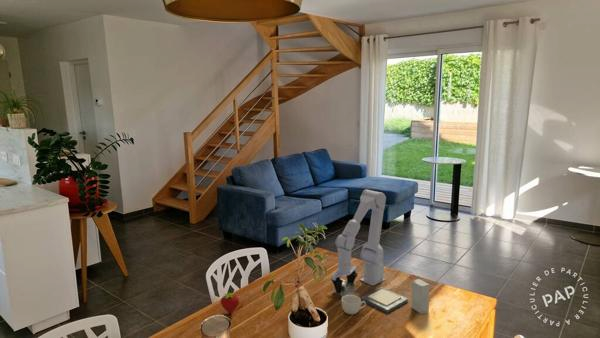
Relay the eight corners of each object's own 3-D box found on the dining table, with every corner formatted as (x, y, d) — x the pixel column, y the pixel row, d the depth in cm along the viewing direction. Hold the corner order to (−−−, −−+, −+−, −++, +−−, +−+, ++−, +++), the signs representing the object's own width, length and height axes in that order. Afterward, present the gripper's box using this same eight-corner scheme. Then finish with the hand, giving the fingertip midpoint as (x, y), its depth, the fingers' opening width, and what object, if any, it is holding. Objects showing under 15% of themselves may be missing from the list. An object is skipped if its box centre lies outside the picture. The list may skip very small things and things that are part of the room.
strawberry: (237, 318, 154) (236, 294, 153) (219, 317, 155) (218, 293, 154) (241, 310, 160) (240, 287, 159) (223, 309, 161) (222, 286, 159)
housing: (341, 288, 178) (341, 277, 177) (354, 295, 172) (354, 283, 171) (333, 292, 175) (333, 280, 174) (346, 299, 169) (347, 287, 168)
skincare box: (429, 312, 157) (430, 284, 155) (420, 314, 156) (422, 286, 153) (418, 305, 163) (419, 278, 161) (410, 307, 161) (411, 280, 159)
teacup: (342, 316, 155) (342, 304, 154) (340, 306, 162) (340, 294, 161) (367, 316, 155) (367, 304, 154) (364, 306, 162) (364, 294, 161)
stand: (381, 290, 176) (381, 285, 176) (407, 301, 166) (407, 297, 165) (361, 300, 167) (361, 295, 167) (387, 313, 157) (387, 308, 156)
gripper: (348, 254, 179) (348, 282, 181) (326, 263, 169) (326, 292, 172) (360, 259, 173) (360, 287, 176) (338, 268, 164) (337, 298, 166)
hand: (344, 290), depth 173 cm, fingers open, 7 cm apart
